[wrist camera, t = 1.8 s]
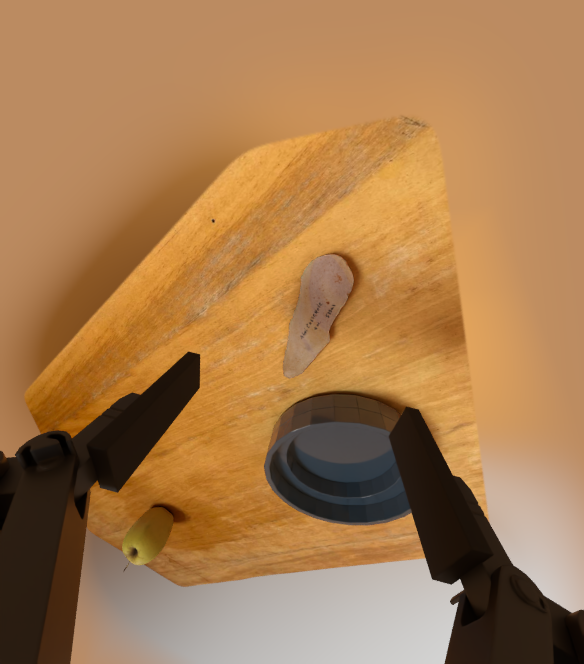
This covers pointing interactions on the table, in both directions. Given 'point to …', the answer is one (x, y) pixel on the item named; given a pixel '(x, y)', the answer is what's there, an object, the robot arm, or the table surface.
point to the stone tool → (316, 310)
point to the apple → (148, 536)
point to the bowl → (337, 460)
